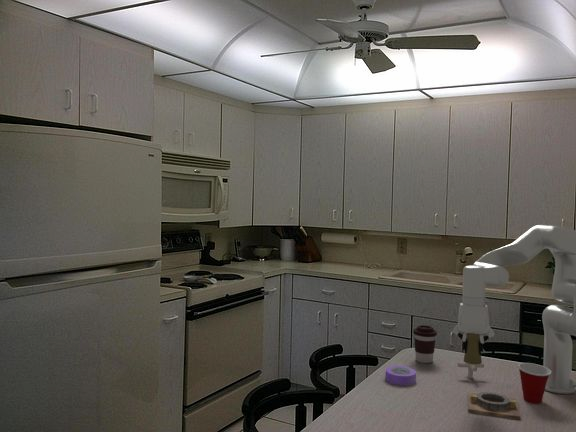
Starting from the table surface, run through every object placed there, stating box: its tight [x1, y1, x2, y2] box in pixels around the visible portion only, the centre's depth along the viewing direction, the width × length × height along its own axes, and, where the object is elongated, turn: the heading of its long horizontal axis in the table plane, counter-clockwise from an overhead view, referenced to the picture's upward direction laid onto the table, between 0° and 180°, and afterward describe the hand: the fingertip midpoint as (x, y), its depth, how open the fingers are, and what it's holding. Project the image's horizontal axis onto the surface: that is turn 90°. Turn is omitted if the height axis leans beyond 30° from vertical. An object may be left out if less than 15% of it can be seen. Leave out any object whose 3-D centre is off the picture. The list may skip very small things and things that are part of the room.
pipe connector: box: [457, 361, 485, 379], centre depth 207 cm, size 10×10×10 cm
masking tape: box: [385, 365, 417, 386], centre depth 203 cm, size 12×12×4 cm
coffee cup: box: [413, 324, 438, 364], centre depth 227 cm, size 10×10×15 cm
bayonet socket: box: [467, 391, 521, 420], centre depth 178 cm, size 16×16×3 cm
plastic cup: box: [517, 362, 551, 405], centre depth 184 cm, size 11×11×12 cm
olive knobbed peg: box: [463, 333, 483, 365], centre depth 181 cm, size 6×6×11 cm
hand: (472, 352), depth 181 cm, fingers closed on olive knobbed peg, 4 cm apart
